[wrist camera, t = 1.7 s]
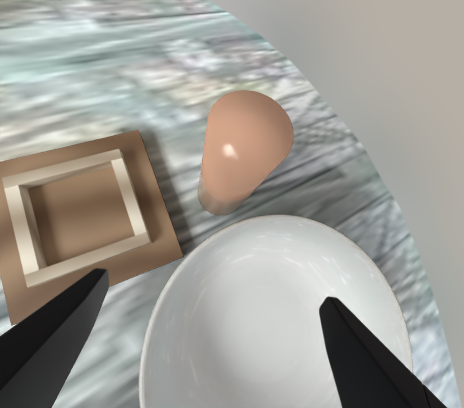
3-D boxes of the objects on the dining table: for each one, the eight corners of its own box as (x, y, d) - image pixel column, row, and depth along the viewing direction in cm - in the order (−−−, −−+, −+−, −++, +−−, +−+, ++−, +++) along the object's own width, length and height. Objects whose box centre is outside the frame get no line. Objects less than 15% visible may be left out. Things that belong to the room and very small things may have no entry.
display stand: (183, 256, 22) (183, 256, 20) (24, 320, 19) (-2, 330, 16) (141, 137, 25) (135, 123, 22) (-9, 173, 21) (-36, 161, 18)
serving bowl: (247, 523, 18) (279, 669, 12) (108, 313, 20) (70, 339, 14) (389, 340, 25) (463, 369, 18) (273, 190, 26) (302, 168, 20)
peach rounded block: (248, 206, 25) (307, 155, 13) (207, 222, 24) (227, 181, 11) (232, 167, 26) (272, 83, 13) (191, 180, 25) (194, 99, 12)
